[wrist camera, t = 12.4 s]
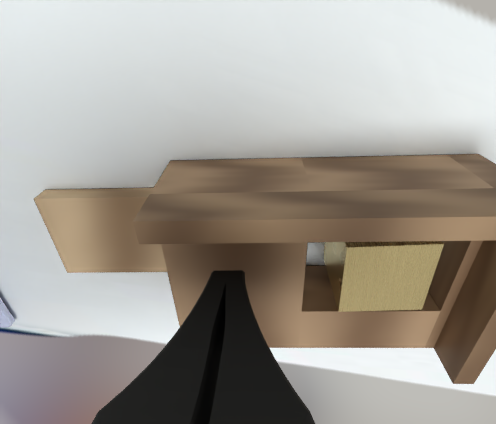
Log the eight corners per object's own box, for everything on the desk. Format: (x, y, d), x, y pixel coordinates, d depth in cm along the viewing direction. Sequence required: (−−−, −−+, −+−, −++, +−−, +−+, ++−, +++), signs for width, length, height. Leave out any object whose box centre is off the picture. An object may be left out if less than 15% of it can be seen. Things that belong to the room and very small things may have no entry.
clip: (338, 311, 15) (422, 309, 15) (346, 247, 13) (444, 244, 13) (323, 258, 19) (391, 256, 18) (328, 200, 16) (404, 197, 16)
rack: (92, 300, 21) (45, 381, 16) (34, 163, 16) (-61, 224, 11) (423, 299, 20) (473, 383, 15) (478, 154, 15) (580, 215, 10)
